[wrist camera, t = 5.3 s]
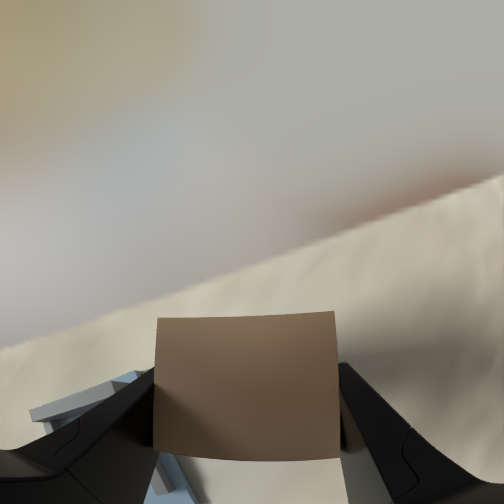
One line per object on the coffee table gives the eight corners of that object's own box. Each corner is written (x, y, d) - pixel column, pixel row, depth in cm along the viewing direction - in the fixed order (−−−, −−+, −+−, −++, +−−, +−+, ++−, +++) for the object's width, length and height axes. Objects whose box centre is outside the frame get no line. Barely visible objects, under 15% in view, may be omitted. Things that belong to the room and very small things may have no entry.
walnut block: (319, 423, 13) (340, 457, 6) (222, 425, 14) (153, 450, 7) (317, 349, 15) (334, 310, 8) (223, 353, 15) (158, 317, 8)
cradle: (199, 503, 15) (183, 519, 12) (91, 517, 14) (68, 525, 11) (139, 371, 20) (116, 366, 17) (48, 405, 19) (22, 403, 16)
